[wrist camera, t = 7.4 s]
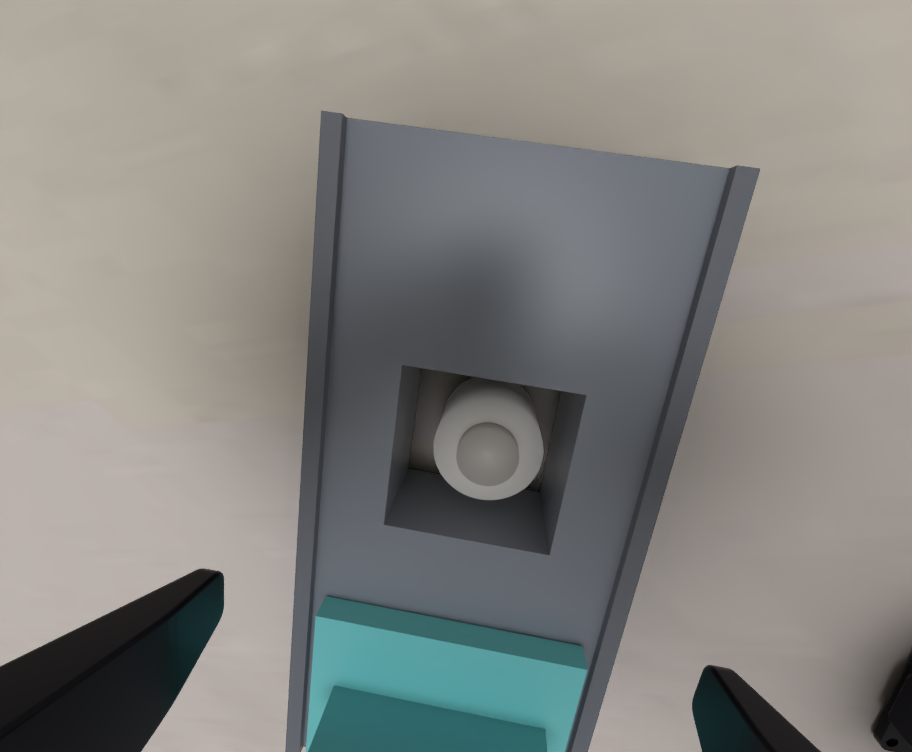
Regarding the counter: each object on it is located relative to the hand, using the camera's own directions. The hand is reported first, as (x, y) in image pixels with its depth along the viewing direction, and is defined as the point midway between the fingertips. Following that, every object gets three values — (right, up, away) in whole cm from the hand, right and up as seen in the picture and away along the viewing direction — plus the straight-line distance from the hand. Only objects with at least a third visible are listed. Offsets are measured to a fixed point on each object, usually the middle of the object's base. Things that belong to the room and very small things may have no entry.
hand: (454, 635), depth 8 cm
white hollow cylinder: (+2, +3, +11) cm, 12 cm away
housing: (+1, +1, +12) cm, 12 cm away
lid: (-1, -8, +10) cm, 12 cm away
